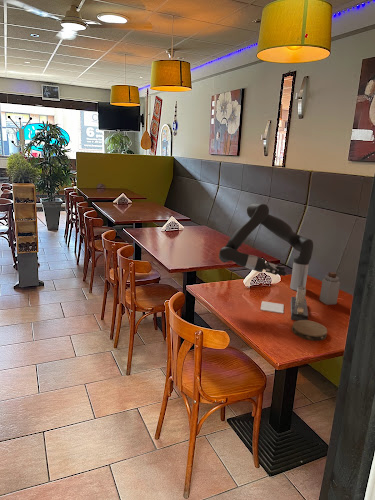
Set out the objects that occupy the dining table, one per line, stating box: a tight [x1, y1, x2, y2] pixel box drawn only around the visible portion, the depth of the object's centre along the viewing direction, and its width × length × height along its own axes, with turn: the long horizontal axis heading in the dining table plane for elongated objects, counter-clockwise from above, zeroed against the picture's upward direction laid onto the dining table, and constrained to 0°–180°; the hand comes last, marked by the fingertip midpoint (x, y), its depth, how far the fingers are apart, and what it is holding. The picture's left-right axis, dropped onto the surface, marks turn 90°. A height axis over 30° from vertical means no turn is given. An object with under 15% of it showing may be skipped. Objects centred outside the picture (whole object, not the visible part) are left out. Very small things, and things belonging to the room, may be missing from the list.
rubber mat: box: [260, 300, 285, 314], centre depth 204 cm, size 12×12×1 cm
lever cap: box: [295, 286, 307, 308], centre depth 198 cm, size 5×4×10 cm
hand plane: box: [290, 293, 309, 321], centre depth 200 cm, size 24×8×6 cm, turn 165°
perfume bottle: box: [319, 271, 341, 306], centre depth 214 cm, size 7×7×18 cm
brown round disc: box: [291, 320, 328, 342], centre depth 177 cm, size 16×16×3 cm
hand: (284, 272), depth 197 cm, fingers open, 8 cm apart
